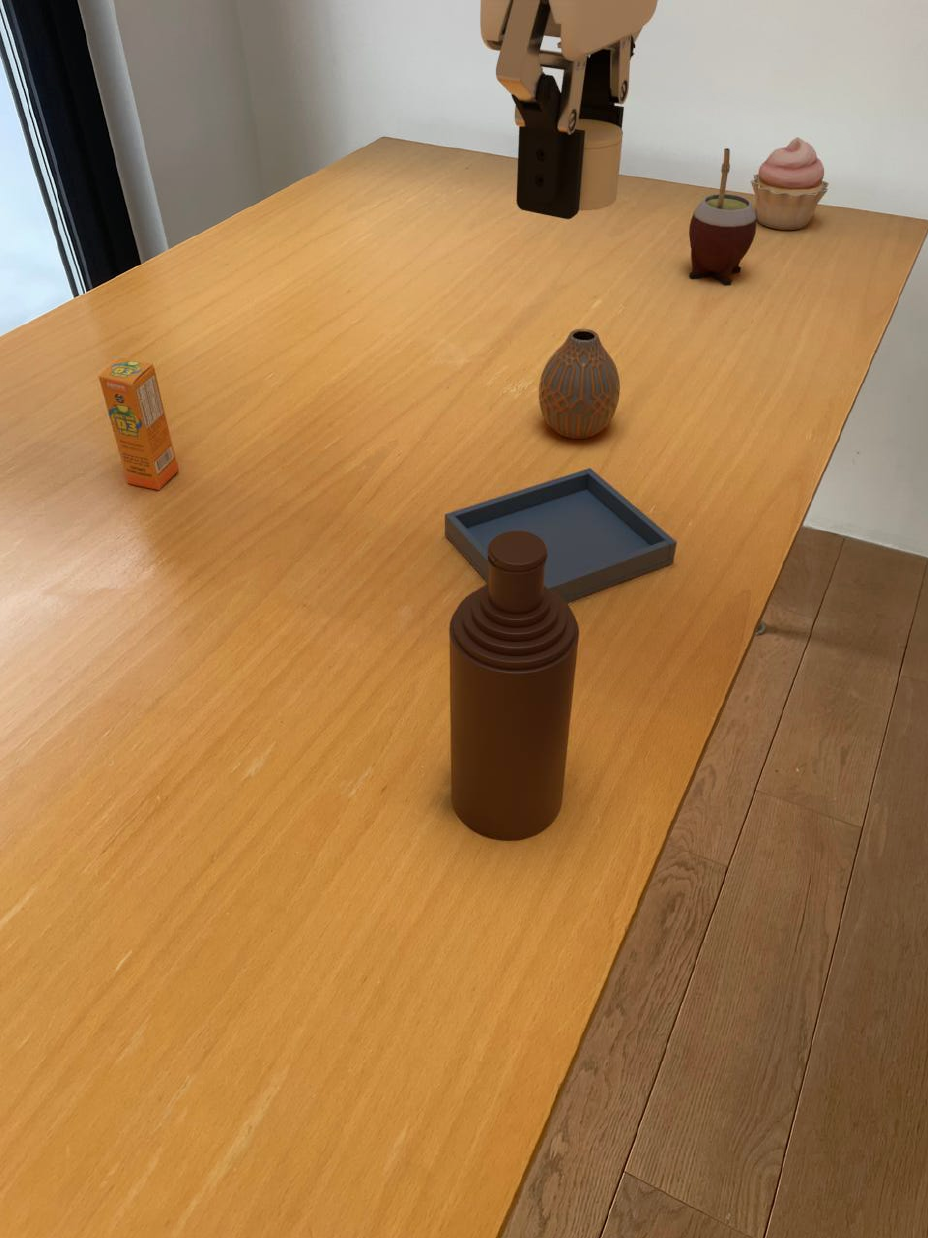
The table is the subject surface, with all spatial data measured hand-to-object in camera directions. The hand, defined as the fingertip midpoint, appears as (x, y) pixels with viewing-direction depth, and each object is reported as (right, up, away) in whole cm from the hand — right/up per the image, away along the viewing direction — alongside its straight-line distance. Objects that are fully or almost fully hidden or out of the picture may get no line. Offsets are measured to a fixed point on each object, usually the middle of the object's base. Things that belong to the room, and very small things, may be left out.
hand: (567, 194), depth 51 cm
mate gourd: (+23, +17, +62) cm, 69 cm away
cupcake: (+34, +28, +75) cm, 87 cm away
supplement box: (-31, -10, +32) cm, 45 cm away
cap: (+1, 0, 0) cm, 1 cm away
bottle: (-3, -32, +7) cm, 33 cm away
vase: (+5, -5, +38) cm, 38 cm away
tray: (+2, -16, +24) cm, 29 cm away
